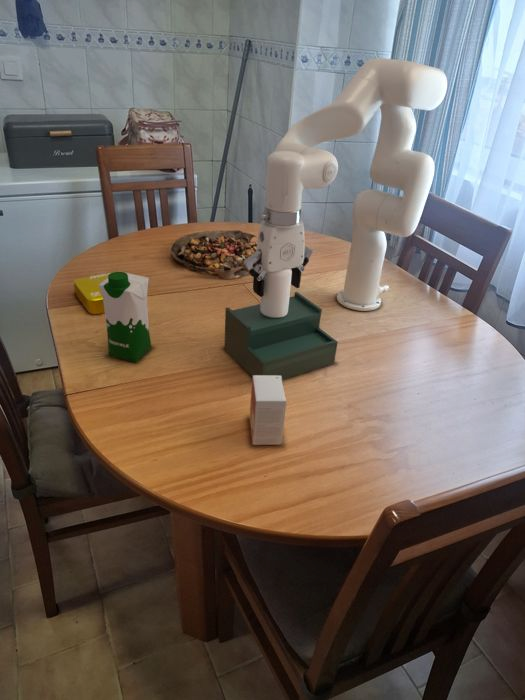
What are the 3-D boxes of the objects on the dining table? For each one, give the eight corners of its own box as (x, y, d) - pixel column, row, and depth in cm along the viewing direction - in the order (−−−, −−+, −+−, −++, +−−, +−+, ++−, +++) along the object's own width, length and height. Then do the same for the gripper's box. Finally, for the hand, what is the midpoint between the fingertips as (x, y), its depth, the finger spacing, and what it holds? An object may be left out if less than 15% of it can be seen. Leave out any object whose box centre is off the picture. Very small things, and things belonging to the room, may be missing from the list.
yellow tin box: (126, 282, 149) (124, 267, 146) (146, 304, 138) (145, 288, 136) (73, 293, 141) (71, 277, 139) (90, 316, 131) (88, 299, 128)
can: (285, 320, 114) (290, 271, 108) (257, 316, 115) (260, 267, 109) (289, 308, 120) (294, 260, 113) (263, 304, 121) (266, 256, 114)
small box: (249, 417, 101) (252, 374, 95) (277, 417, 101) (281, 374, 96) (251, 445, 94) (255, 400, 88) (281, 445, 95) (286, 400, 89)
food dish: (271, 285, 156) (272, 261, 151) (162, 280, 155) (160, 256, 151) (271, 241, 184) (272, 220, 180) (179, 236, 184) (178, 215, 180)
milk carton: (103, 356, 116) (92, 275, 105) (124, 338, 123) (117, 260, 112) (137, 365, 113) (130, 284, 103) (157, 346, 121) (152, 267, 110)
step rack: (334, 363, 119) (341, 322, 113) (261, 386, 110) (265, 343, 104) (293, 330, 131) (297, 291, 125) (224, 348, 122) (225, 307, 116)
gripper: (255, 227, 99) (252, 305, 108) (326, 215, 107) (317, 289, 116) (236, 215, 104) (235, 290, 113) (305, 205, 112) (298, 276, 122)
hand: (276, 290), depth 115 cm, fingers open, 9 cm apart
